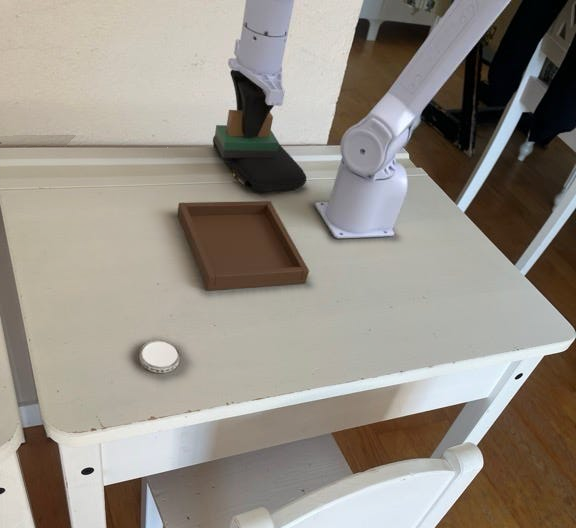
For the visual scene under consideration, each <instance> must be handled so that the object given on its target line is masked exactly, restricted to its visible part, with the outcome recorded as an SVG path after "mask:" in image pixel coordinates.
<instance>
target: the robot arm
mask: <svg viewBox="0 0 576 528" xmlns="http://www.w3.org/2000/svg"><path fill="white" fill-rule="evenodd" d="M511 1H512V0H453V2H452V3H451V5H450V6H449V7H448V9H447V10H446V11H445V13H444V14H443V16H442V17H441V18H440V20H439V21H438V23H437V24H436V25H435V27H434V28H433V29H432V31H431V32H430V33H429V35H428V36H427V37H426V39H425V40H424V42H423V43H422V44H421V46H420V47H419V48H418V50H417V51H416V53H415V54H414V55H413V57H412V58H411V60H410V61H409V62H408V63H407V65H406V66H405V68H403V70H402V72H401V73H400V74H399V76H398V77H397V78H396V80H395V81H394V83H392V85H391V87H390V88H389V89H388V91H387V92H386V93H384V94H385V95H383V96H382V98H381V99H380V100H379V101H378V102H377V103H376V105H374V107H373V108H372V109H371V110H370V111H369V112H368V114H367V115H366V116H365V117H364V118H362V119H361V120H360V121H359V122H357V123H356V124H354V125H352V126H350V127H349V128H347V129H346V130H345V132H344V133H343V135H342V137H341V141H340V145H339V146H340V147H339V148H340V157H341V158H340V163H339V165H338V169H337V172H336V175H335V178H334V181H333V182H334V183H333V186H332V190H331V193H330V195H329V199H328V201H317V202H315V205H314V207H315V208H316V210H317V212H318V214H319V215H320V216H321V218H322V220H323V222H324V223H325V224H326V226H327V228H328V229H329V231H330V232H331V234H332V235H333V237H334V238H335V239H356V238H357V239H358V238H377V237H380V238H381V237H382V238H383V237H393V236H394V235H395V231H394V230H393V228H394V226H395V223H396V220H397V218H398V216H399V213H400V211H401V208H402V206H403V203H404V201H405V198H406V195H407V191H408V186H409V185H408V182H409V181H408V174H407V171H406V169H405V167H404V166H403V164H401V163H399V162H397V160H396V154H397V153H398V152H399V151H400V150H403V149H404V148H405V147H406V145H407V144H408V143H409V141H410V138H411V136H412V131H413V126H414V125H415V123H416V121H417V120H418V119H419V118H420V116H421V115H422V113H423V111H424V110H425V108H426V107H427V106H428V105H429V104H430V102H431V101H432V99H433V98H434V97H435V96H436V94H438V92H439V91H440V89H441V88H442V87H443V86H444V84H445V83H447V81H448V80H449V78H450V77H451V76H452V75H453V73H454V72H455V71H456V70H457V68H458V67H459V66H460V65H461V63H462V62H463V61H464V60H465V58H466V57H467V56H468V55H469V53H470V52H471V51H472V50H473V49H474V47H475V46H476V45H477V43H479V41H480V40H481V39H482V37H483V36H484V35H485V33H486V32H487V31H488V30H489V28H490V27H491V26H492V25H493V23H495V21H496V20H497V19H498V18H499V16H500V15H501V14H502V12H503V11H504V10H505V9H506V7H507V6H508V5H509V4H510V2H511ZM294 4H295V0H245V5H244V12H243V13H244V14H243V18H242V26H241V32H240V39H238V38H236V39H235V42H234V43H235V44H234V50H233V54H234V56H235V57H234V58H232V57H231V58H229V59H228V61H227V65H228V67H229V68H230V77H231V80H232V82H233V88H234V93H235V102H236V110H243V115H242V131H243V135H244V136H254V137H257V136H258V134H259V132H260V130H261V128H262V126H263V124H264V122H265V120H266V118H267V116H268V114H269V112H270V113H271V111H272V109H273V108H274V107H275V106H276V107H277V106H279V107H282V106H283V102H284V97H285V93H286V91H285V89H284V87H283V67H282V65H283V60H284V55H285V51H286V50H285V49H286V45H287V39H288V35H289V29H290V25H291V18H292V15H293V9H294Z"/></svg>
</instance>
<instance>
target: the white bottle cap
mask: <svg viewBox="0 0 576 528" xmlns="http://www.w3.org/2000/svg"><path fill="white" fill-rule="evenodd" d="M180 357H181V353H180V351H179V349H178V347H177V346H175V344H174V343H171V342H169V341H165V340H161V339H160V340H158V339H157V340H156V339H155V340H151V341H148V342H146V343H145V344H144V345H142V347H141V348H140V350H139V362H140V364H141V366H142V367H144V368H145V369H146V370H148V371H150V372H152V373H157V374H165V373H169V372H171V371H173V370H175V369H176V368H177V367H178V366H179V363H180V359H181V358H180Z"/></svg>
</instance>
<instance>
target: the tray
mask: <svg viewBox="0 0 576 528" xmlns="http://www.w3.org/2000/svg"><path fill="white" fill-rule="evenodd" d="M177 219H178V221H179V224H180V226H181V229H182V232H183V234H184V237H185V239H186V241H187V244H188V246H189V249H190V252H191V255H192V256H193V259H194V262H195V264H196V266H197V269H198V272H199V274H200V276H201V279H202V281H203V284H204V286H205V289H206V291H208V292H210V291H223V290H236V289H248V288H250V289H251V288H263V287H264V288H265V287H275V286H276V287H277V286H289V285H290V286H291V285H302V284H303V285H304V284H306V282H307V278H308V276H309V272H310V270H309V268H308V266H307V264H306V262H305V261H304V259H303V257H302V255H301V254H300V252H299V250H298V248H297V246H296V244H295V243H294V241H293V239H292V237H291V236H290V234H289V232H288V230H287V228H286V227H285V225H284V222H283V221H282V220H281V218H280V216H279V213H277V211H276V209H275V206H274V205H273V203H272V202H271V200H258V201H257V200H255V201H254V200H252V201H250V200H249V201H247V200H246V201H200V202H195V201H194V202H178V208H177Z"/></svg>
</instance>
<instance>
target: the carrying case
mask: <svg viewBox="0 0 576 528" xmlns="http://www.w3.org/2000/svg"><path fill="white" fill-rule="evenodd" d="M214 139H215V135H214V136H213V138H212V143H213V145H212V146H213V148H214V149H215V150H216V152H217V153H218V154H219V155H220V156H221V157H222V155H221V153H220V151H219V149H218V147H217V145H216V143H215V141H214ZM223 160H224V161H225V162H226V163H227V165H228V166H229V167H230V168H231V170H232V172H231V176H232V178H233V179H234V180H236V181H238V182H239V183H241V185H243V186H244V187H246V188H249V189H250V191H252V192H254V193H255V194H261V195H262V194H271V193H278V192H287V191H294V190H298V189H300V188H302V187H304V186H305V184H306V183H307V180H308V179H307V175H306V173H305V172H304V170H303V168H302V167H301V166H300V165H299V164H298V163H297V162H296V160H295V159H294V158H293V157H292V156H291V155H290V154H289V153H288V152H287V150H286V149H284V147H283V146H281V144H280V143H279V145H278V150H277V155H276V158H223Z"/></svg>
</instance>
